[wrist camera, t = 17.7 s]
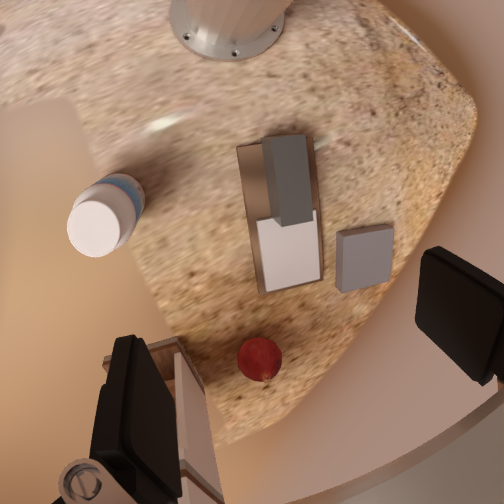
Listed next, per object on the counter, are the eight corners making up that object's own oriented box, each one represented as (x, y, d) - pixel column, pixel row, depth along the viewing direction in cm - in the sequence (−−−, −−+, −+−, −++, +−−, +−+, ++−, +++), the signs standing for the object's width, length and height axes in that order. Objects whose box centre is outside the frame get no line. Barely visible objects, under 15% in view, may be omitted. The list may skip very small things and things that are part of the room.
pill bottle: (98, 168, 30) (62, 184, 20) (150, 178, 32) (136, 198, 22) (90, 220, 32) (55, 257, 22) (140, 230, 34) (123, 272, 23)
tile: (343, 236, 37) (394, 228, 39) (335, 231, 39) (384, 223, 41) (341, 293, 40) (389, 280, 42) (334, 285, 42) (380, 274, 44)
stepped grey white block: (244, 139, 31) (252, 140, 28) (306, 132, 32) (321, 132, 29) (265, 289, 38) (274, 306, 35) (318, 276, 39) (331, 291, 36)
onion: (272, 322, 42) (291, 359, 35) (274, 353, 44) (290, 390, 37) (230, 329, 41) (242, 369, 34) (235, 361, 43) (246, 400, 36)
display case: (176, 336, 40) (213, 618, 8) (203, 386, 44) (253, 611, 12) (104, 356, 38) (79, 605, 7) (138, 403, 43) (146, 614, 11)
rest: (236, 147, 33) (237, 147, 32) (308, 137, 34) (312, 137, 33) (258, 291, 40) (260, 295, 39) (319, 276, 41) (323, 280, 40)
